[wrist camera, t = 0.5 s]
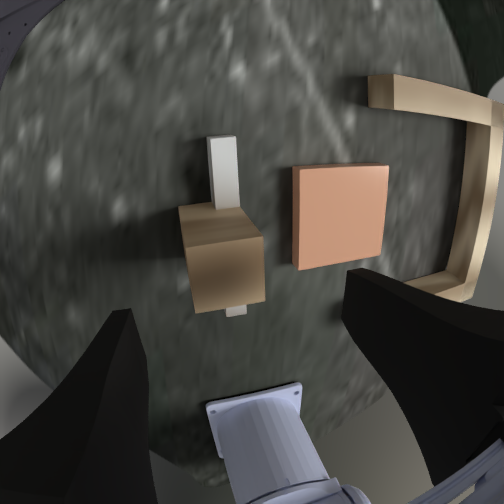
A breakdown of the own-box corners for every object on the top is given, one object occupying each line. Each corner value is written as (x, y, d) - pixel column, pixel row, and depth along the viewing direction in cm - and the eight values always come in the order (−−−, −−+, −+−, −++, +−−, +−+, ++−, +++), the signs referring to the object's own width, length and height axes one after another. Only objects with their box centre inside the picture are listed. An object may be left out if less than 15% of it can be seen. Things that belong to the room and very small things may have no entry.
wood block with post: (240, 299, 20) (266, 358, 15) (193, 308, 19) (206, 370, 15) (229, 134, 16) (259, 145, 11) (171, 140, 15) (174, 153, 10)
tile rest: (454, 284, 26) (471, 297, 24) (351, 316, 23) (368, 335, 21) (480, 100, 18) (503, 104, 16) (367, 75, 16) (393, 74, 14)
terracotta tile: (368, 246, 22) (380, 255, 20) (289, 259, 20) (298, 270, 19) (375, 161, 19) (389, 165, 18) (289, 164, 18) (299, 169, 16)
